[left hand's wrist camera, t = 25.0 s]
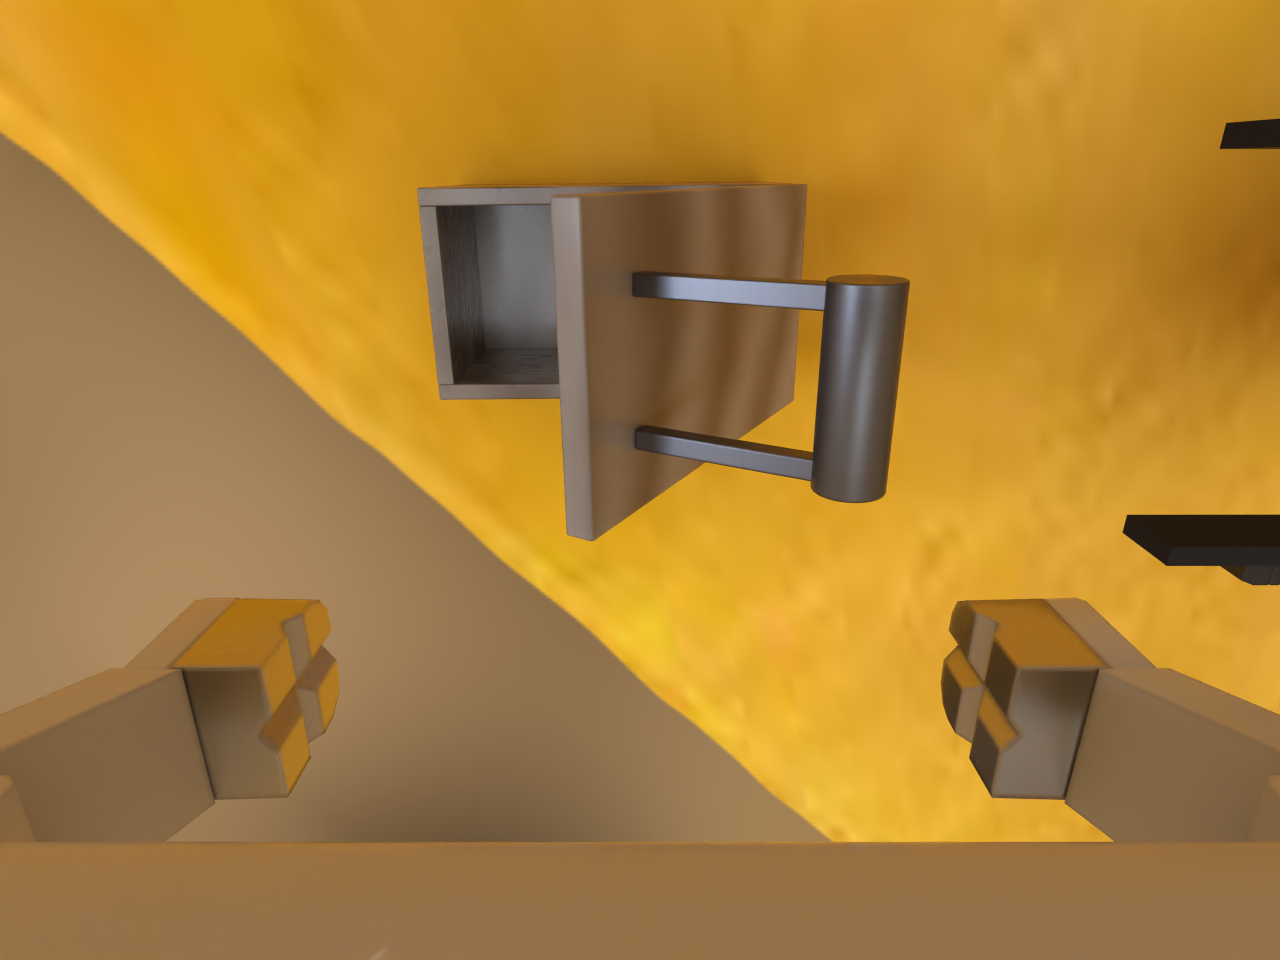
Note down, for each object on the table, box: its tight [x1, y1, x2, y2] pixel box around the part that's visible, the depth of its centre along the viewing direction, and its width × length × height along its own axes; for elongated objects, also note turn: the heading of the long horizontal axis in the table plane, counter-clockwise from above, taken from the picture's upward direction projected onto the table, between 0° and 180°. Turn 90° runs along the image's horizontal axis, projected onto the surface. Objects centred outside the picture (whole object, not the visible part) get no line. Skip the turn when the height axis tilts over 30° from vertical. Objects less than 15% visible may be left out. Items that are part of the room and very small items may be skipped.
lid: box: [550, 184, 910, 541], centre depth 28 cm, size 18×10×9 cm
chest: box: [417, 182, 789, 400], centre depth 42 cm, size 17×10×10 cm, turn 91°
